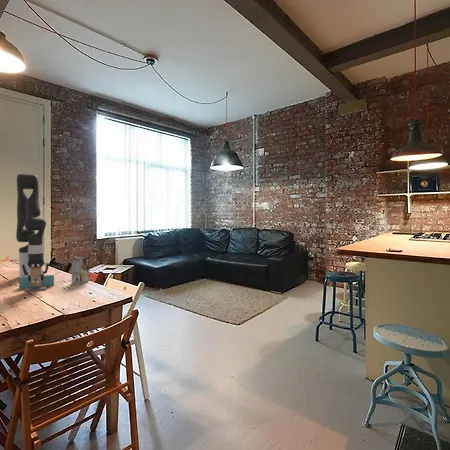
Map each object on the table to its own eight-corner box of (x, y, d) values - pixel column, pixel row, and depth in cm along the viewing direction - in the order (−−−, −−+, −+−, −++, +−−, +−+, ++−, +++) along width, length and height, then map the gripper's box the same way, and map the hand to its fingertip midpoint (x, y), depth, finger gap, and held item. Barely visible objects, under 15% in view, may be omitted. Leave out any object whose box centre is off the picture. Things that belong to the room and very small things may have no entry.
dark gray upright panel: (26, 288, 179) (26, 287, 179) (46, 287, 183) (46, 285, 183) (25, 292, 172) (25, 290, 172) (45, 290, 177) (45, 288, 177)
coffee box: (80, 280, 203) (80, 256, 202) (89, 280, 202) (89, 256, 201) (71, 283, 194) (71, 258, 193) (80, 284, 193) (80, 259, 192)
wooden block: (31, 284, 179) (31, 266, 178) (41, 283, 181) (41, 265, 180) (30, 286, 174) (30, 267, 173) (40, 285, 176) (40, 267, 176)
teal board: (19, 288, 180) (19, 277, 180) (54, 285, 189) (54, 274, 188) (19, 288, 179) (19, 277, 179) (54, 285, 188) (54, 275, 187)
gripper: (50, 250, 183) (50, 278, 184) (21, 252, 177) (22, 280, 178) (49, 252, 177) (49, 281, 178) (20, 253, 170) (20, 283, 171)
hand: (36, 280), depth 178 cm, fingers closed on wooden block, 5 cm apart
